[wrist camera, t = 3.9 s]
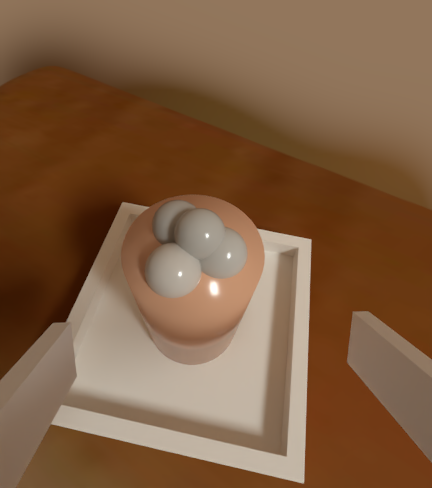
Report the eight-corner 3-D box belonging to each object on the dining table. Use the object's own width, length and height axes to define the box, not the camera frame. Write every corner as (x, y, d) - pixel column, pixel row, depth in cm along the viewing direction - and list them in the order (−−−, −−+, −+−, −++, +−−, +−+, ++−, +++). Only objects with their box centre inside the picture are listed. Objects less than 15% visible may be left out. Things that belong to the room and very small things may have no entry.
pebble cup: (136, 353, 20) (81, 277, 10) (163, 271, 24) (141, 151, 14) (228, 374, 20) (266, 317, 10) (242, 288, 24) (281, 178, 13)
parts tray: (40, 418, 19) (21, 416, 17) (127, 219, 27) (122, 201, 25) (291, 477, 18) (303, 483, 16) (301, 254, 27) (311, 239, 25)
